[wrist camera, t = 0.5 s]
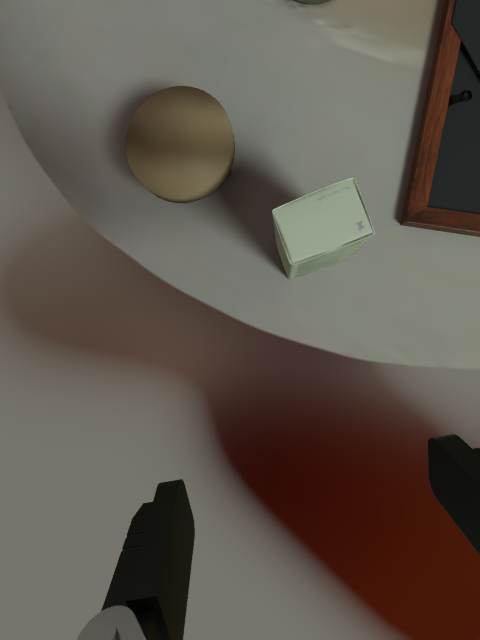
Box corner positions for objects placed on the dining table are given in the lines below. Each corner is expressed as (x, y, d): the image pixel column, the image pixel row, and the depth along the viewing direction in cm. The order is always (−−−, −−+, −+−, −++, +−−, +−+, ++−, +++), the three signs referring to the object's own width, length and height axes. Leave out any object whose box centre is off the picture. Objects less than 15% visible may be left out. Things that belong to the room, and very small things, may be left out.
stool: (154, 122, 37) (130, 85, 31) (244, 125, 36) (237, 86, 30) (146, 213, 37) (121, 194, 31) (235, 219, 36) (227, 200, 30)
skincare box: (330, 221, 35) (357, 172, 23) (344, 261, 35) (379, 233, 23) (272, 243, 35) (269, 206, 23) (287, 283, 35) (290, 266, 23)
